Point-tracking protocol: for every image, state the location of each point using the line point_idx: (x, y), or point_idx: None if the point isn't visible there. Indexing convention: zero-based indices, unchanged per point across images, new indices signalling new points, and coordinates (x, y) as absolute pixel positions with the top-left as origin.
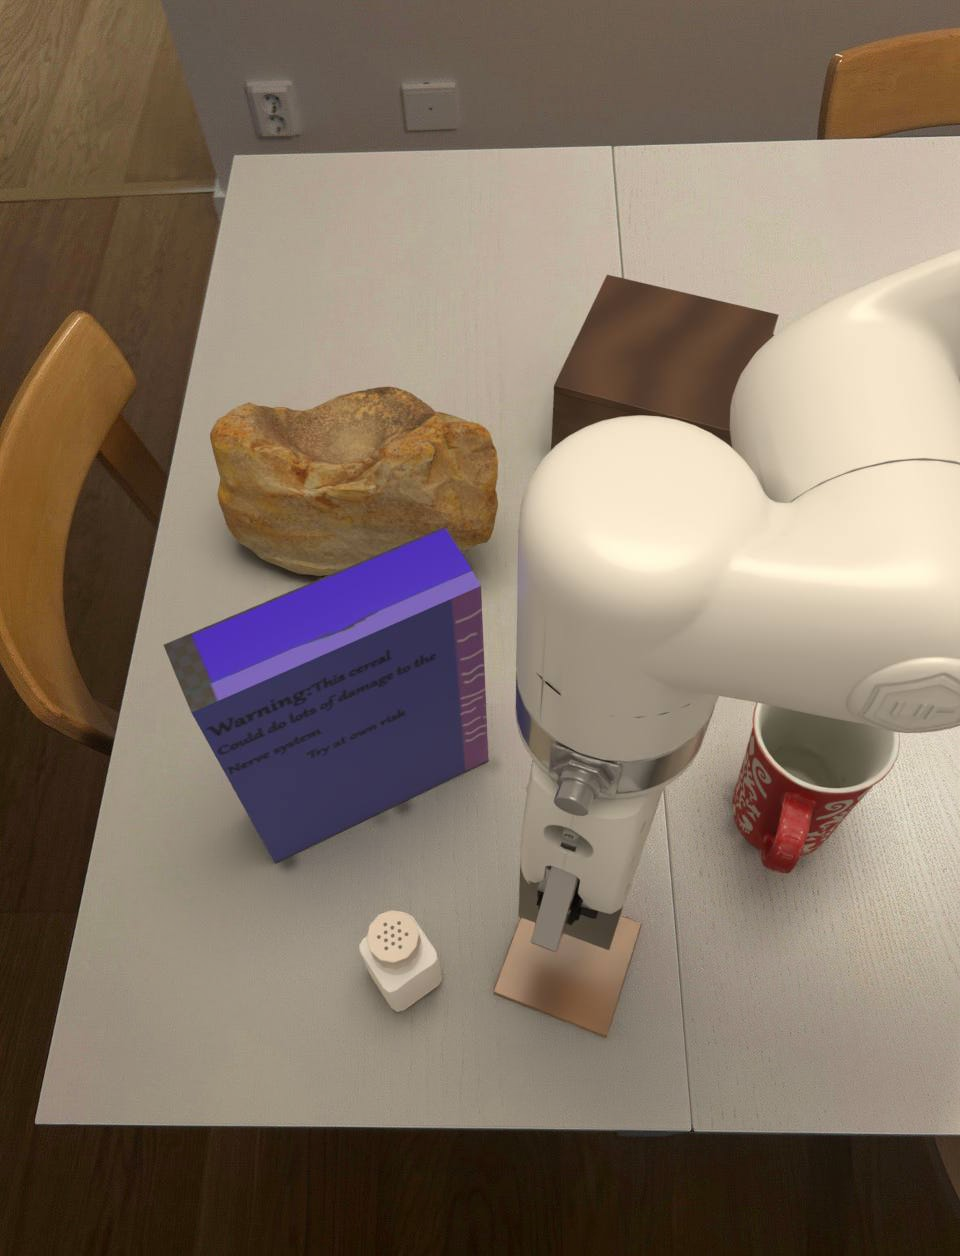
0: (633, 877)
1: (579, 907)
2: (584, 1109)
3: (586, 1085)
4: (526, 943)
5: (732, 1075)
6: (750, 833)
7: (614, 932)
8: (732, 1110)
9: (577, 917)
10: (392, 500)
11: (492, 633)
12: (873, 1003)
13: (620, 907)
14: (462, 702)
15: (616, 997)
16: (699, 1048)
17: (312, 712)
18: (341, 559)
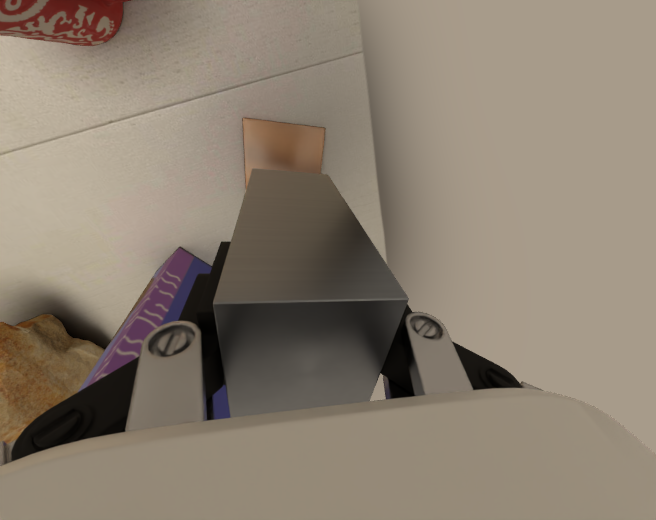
0: (540, 424)
1: (497, 387)
2: (367, 132)
3: (354, 134)
4: None
5: (327, 17)
6: (112, 19)
7: (339, 192)
8: (352, 14)
9: (508, 379)
10: (24, 411)
11: (84, 272)
12: None
13: (641, 442)
14: (159, 322)
15: (299, 126)
16: (315, 51)
17: None
18: None
